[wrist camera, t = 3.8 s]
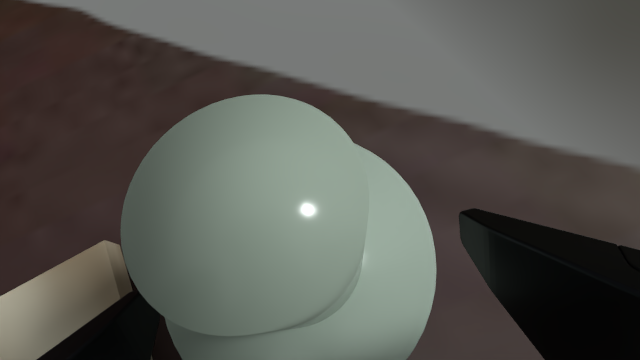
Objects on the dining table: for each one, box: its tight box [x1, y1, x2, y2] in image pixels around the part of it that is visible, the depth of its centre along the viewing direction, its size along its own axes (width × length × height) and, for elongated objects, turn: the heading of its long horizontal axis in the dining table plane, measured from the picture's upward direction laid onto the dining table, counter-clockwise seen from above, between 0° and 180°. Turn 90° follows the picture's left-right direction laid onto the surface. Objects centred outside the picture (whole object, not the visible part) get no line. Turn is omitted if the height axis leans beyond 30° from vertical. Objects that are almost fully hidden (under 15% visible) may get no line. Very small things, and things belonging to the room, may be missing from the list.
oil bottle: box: [121, 95, 436, 360], centre depth 10 cm, size 6×6×14 cm
